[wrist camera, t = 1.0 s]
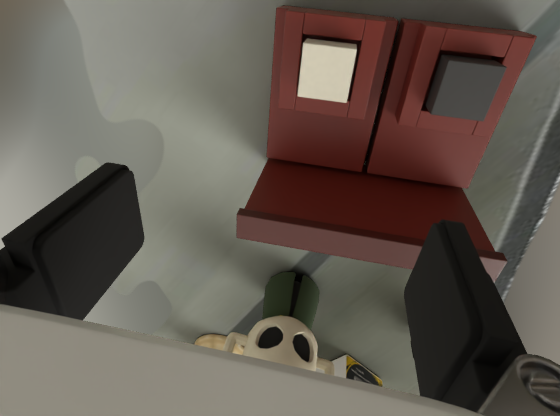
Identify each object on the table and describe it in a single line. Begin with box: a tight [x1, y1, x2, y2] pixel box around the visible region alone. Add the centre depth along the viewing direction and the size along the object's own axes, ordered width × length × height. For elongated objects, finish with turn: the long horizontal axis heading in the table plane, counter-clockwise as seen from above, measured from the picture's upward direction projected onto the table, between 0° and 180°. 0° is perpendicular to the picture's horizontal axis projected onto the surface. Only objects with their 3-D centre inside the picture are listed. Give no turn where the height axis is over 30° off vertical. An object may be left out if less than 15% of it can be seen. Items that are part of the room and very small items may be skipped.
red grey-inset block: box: [366, 18, 537, 188], centre depth 25 cm, size 11×8×4 cm
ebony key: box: [426, 54, 507, 121], centre depth 21 cm, size 3×3×2 cm
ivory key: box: [297, 38, 357, 103], centre depth 22 cm, size 3×3×2 cm
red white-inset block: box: [267, 5, 398, 172], centre depth 26 cm, size 11×8×4 cm
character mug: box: [222, 272, 335, 376], centre depth 35 cm, size 11×7×13 cm, turn 77°
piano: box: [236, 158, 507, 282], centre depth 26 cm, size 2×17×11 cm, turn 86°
